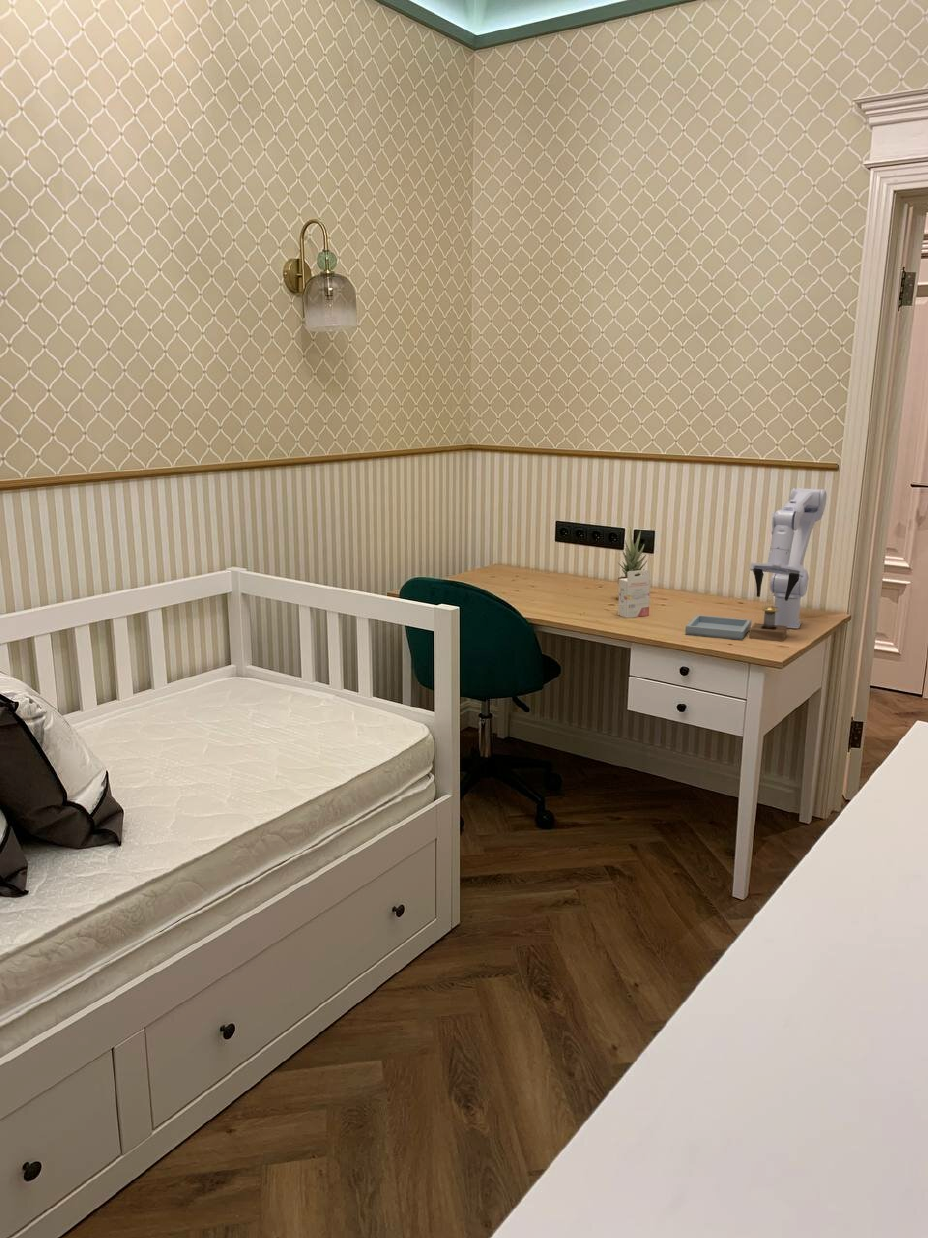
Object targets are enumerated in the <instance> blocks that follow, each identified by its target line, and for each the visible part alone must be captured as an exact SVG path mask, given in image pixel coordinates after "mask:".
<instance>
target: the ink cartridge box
mask: <svg viewBox="0 0 928 1238" xmlns="http://www.w3.org/2000/svg"><path fill="white" fill-rule="evenodd" d="M650 572H651V571H650V569H645V570H643V569H641V570H637V571H628V572H627V578H625V579H619V584H618V604H617V605H618V609H617V610H618V613H617V615H618V616H619V615H620V617H622V618H626V619H629V618H630V619H631V618H639V617H641V618H642V617H648V616H650V595H651V593H650V589H651V579H650V578H651V577H650ZM638 573H639V574H640V575H639V576H635V574H638Z"/></svg>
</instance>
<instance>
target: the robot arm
mask: <svg viewBox="0 0 928 1238" xmlns="http://www.w3.org/2000/svg"><path fill="white" fill-rule="evenodd" d="M826 505H827V491H826V490H825V489H824V488H822V489H821V488H820V489H819V488H802V487H801V488H799V487H793V488H792V489H791V491H790V494H789V501H787V502H786V503H785V505H784V506H783V507H782V508H781V509H777V511H774V513H773V516H772V520H771V521H772V522H771V525H772V526H771V541H770V548H769V553H768V558H767V563H760V562H750V566H749V571H752V572H753V575H754V580H755V585H756V588H755V589H756V595H755V596H756V597H757V598H760V596H761V589H762V584H763V579H764V572H765V573H772V574H771V577H770V583H769V591H770V592H771V594H773V597H774V607H778V612H776V614H775V625H783V626H787V629H794V630H795V629H796V630H797V629H800V626H801V624H802V620H800V611H801V609H800V607H801V598H802V597H804V596H805V595H806V594H807V591H808V587H809V586H808V584H809V573H808V570H807V569H806V568H805V567H804V566H803V564H804V560H805V557H806V554H807V550H808V546H809V542H810V539H811V535H812V532H813V529H814V526H815V524H816V522H818V521H820V520H822V517H823V515H824V512H825V509H826Z"/></svg>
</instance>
